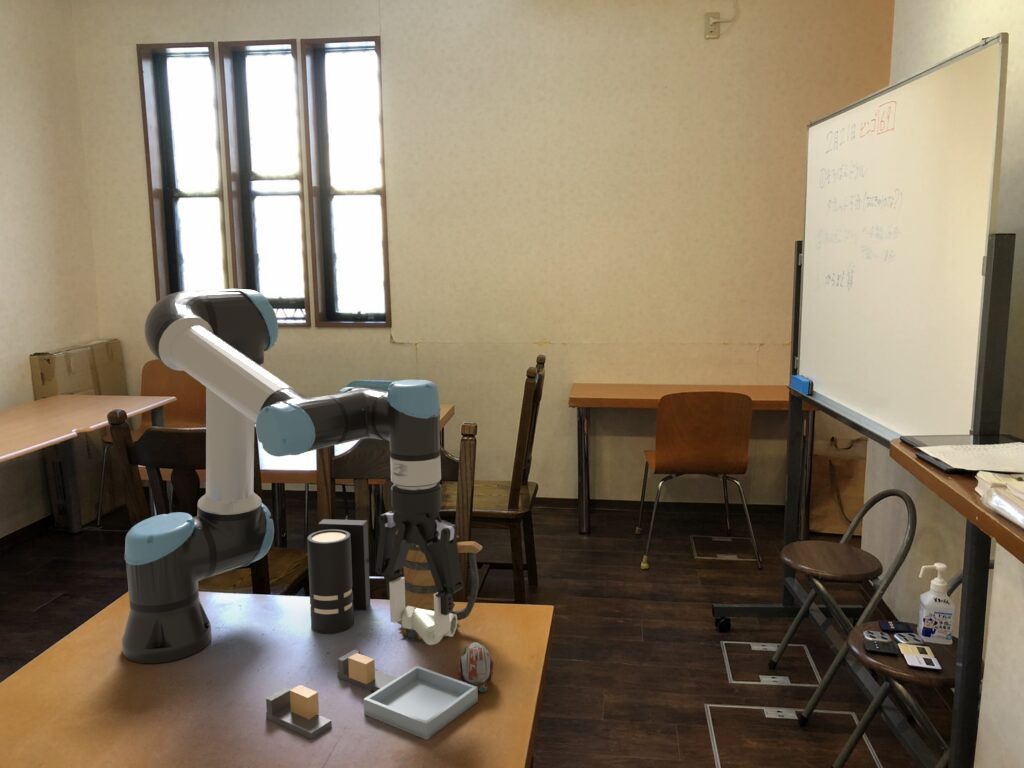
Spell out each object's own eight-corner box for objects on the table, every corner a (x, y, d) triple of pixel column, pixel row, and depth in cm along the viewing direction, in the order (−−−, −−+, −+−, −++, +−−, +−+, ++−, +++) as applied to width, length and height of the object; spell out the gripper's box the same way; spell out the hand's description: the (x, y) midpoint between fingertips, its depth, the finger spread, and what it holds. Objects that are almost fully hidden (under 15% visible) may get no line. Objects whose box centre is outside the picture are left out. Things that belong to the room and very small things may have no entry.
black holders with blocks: (266, 718, 126) (264, 691, 126) (354, 667, 142) (353, 643, 141) (311, 739, 121) (310, 710, 120) (398, 683, 136) (397, 658, 136)
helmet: (458, 698, 134) (458, 671, 130) (457, 657, 141) (457, 631, 137) (494, 696, 135) (495, 669, 131) (491, 656, 141) (492, 629, 137)
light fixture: (300, 632, 155) (296, 542, 153) (325, 602, 169) (321, 519, 166) (350, 635, 154) (347, 544, 152) (371, 604, 168) (368, 520, 165)
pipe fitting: (441, 652, 124) (456, 632, 130) (441, 628, 123) (457, 609, 129) (392, 643, 126) (410, 623, 132) (392, 619, 125) (410, 601, 132)
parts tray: (364, 714, 127) (363, 699, 127) (417, 679, 138) (416, 665, 137) (426, 739, 120) (426, 724, 120) (477, 701, 131) (477, 686, 130)
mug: (405, 612, 164) (402, 515, 161) (490, 618, 161) (489, 519, 158) (385, 642, 151) (381, 537, 148) (476, 648, 149) (475, 542, 145)
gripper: (347, 479, 126) (353, 618, 130) (455, 500, 115) (458, 653, 118) (381, 468, 132) (385, 602, 136) (487, 487, 121) (489, 633, 124)
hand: (419, 625), depth 127 cm, fingers closed on pipe fitting, 8 cm apart
